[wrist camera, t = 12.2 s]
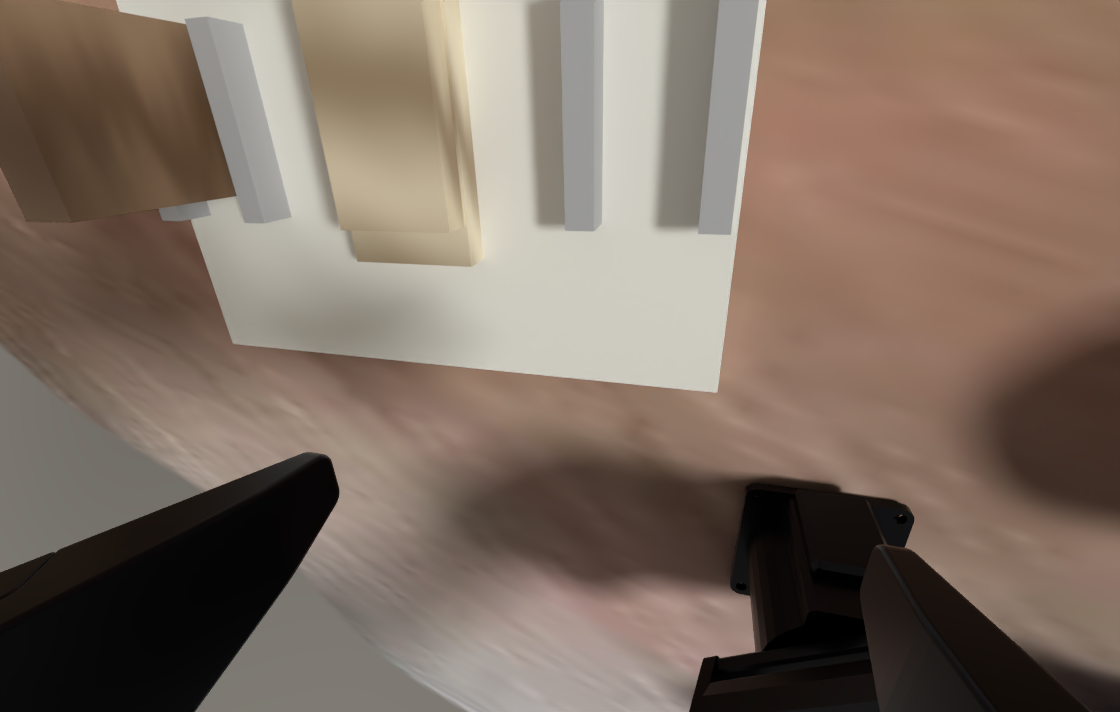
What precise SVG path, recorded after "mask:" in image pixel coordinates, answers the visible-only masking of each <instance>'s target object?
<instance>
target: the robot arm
mask: <svg viewBox="0 0 1120 712" xmlns="http://www.w3.org/2000/svg"><path fill="white" fill-rule="evenodd" d="M754 494H761V496H759V497H755V496H753V495H754ZM338 498H339V486H338V483H337V479H336V475H335V472H334V468H333V465H332V461H331V459H330V458H329V457H328V456H327V455H324V454H319V453H312V452H306V453H302V454H300V455H297V456H295V457H292V458H290V459H287V460H284V461H282V462H279V463H277V464H274V465H272V466H269V467H267V468H264V469H262V470H259V471H257V472H254V473H252V474H249V475H247V476H244V477H241V478H239V479H236V480H234V481H231V482H229V483H226V484H224V485H221V486H219V487H216V488H214V489H211V490H209V491H206V492H203V493H201V494H199V495H196V496H193V497H191V498H189V499H186V500H183V501H181V502H179V503H176V504H173V505H171V506H168V507H166V508H163V509H160V510H158V511H156V512H153V513H150V514H148V515H145V516H143V517H140V518H138V519H135V520H133V521H130V522H128V523H125V524H123V525H120V526H118V527H115V528H112V529H110V530H108V531H105V532H102V533H100V534H97V535H95V536H92V537H90V538H87V539H85V540H82V541H80V542H77V543H74V544H72V545H69V546H67V547H64V548H62V549H60V550H58V551H57V552H56V553H55V552H52V553H49V554H46V555H44V556H41V557H39V558H36V559H34V560H31V561H29V562H26V563H24V564H21V565H18V566H16V567H13V568H11V569H8V570H5V571H3V572H0V712H195V711H196V710H197V708H198V707H199V706H200V704H201V703H202V701H203V700H204V698H205V697H206V696H207V694H208V693H209V692H210V690H211V689H212V687H213V686H214V685H215V683H216V682H217V681H218V679H219V678H220V677H221V675H222V674H223V672H224V671H225V670H226V668H227V667H228V665H229V664H230V663H231V661H232V660H233V658H234V657H235V656H236V654H237V653H238V652H239V650H240V649H241V647H242V646H243V644H244V643H245V642H246V641H247V639H248V638H249V636H250V635H251V634H252V632H253V631H254V630H255V628H256V627H257V625H258V624H259V622H260V621H261V620H262V618H263V617H264V616H265V614H266V613H267V611H268V610H269V609H270V607H271V606H272V605H273V603H274V602H275V600H276V599H277V598H278V596H279V595H280V594H281V592H282V591H283V589H284V588H285V586H286V585H287V584H288V582H289V581H290V579H291V578H292V576H293V575H294V573H295V572H296V570H297V568H298V567H299V565H300V563H301V562H302V560H303V558H304V557H305V555H306V553H307V552H308V550H309V548H310V547H311V545H312V543H313V542H314V540H315V538H316V537H317V535H318V533H319V532H320V530H321V528H322V527H323V525H324V523H325V522H326V520H327V518H328V517H329V515H330V513H331V512H332V510H333V508H334V507H335V505H336V503H337V501H338ZM896 515H902V516H901V517H894V516H896ZM913 523H914V516H913V514H912V512H911V510H910V509H909V507H907V506H906V505H904V504H901V503H894V502H887V501H880V500H873V499H866V498H860V497H853V496H846V495H839V494H832V493H824V492H817V491H810V490H802V489H795V488H788V487H781V486H774V485H767V484H760V483H753V484H750V485H748V486H747V487H746V489H745V493H744V499H743V505H742V511H741V517H740V522H739V528H738V534H737V540H736V546H735V552H734V558H733V564H732V570H731V576H730V585H731V588H732V590H733V591H735V592H736V593H739V594H744V595H749V596H750V598H751V609H752V619H753V630H754V641H755V652H754V653H748V654H742V655H736V656H730V657H724V658H719V657H718V656H713V657H707V658H704V659H703V662H702V665H701V669H700V673H699V677H698V680H697V684H696V688H695V692H694V696H693V699H692V703H691V707H690V711H689V712H1091V711H1090V710H1089V709H1088V708H1087V707H1086V706H1085V705H1084V704H1082V703H1081V702H1080V701H1079V700H1078V699H1077V698H1076V697H1075V696H1074V695H1072V694H1071V693H1070V692H1069V691H1068V690H1067V689H1066V688H1065V687H1064V686H1062V685H1061V684H1060V683H1059V682H1058V681H1057V680H1056V679H1055V678H1054V677H1053V676H1051V675H1050V674H1049V673H1048V672H1047V671H1046V670H1045V669H1044V668H1043V667H1041V666H1040V665H1039V664H1038V663H1037V662H1036V661H1035V660H1034V659H1033V658H1031V657H1030V656H1029V655H1028V654H1027V653H1026V652H1025V651H1024V650H1023V649H1021V648H1020V647H1019V646H1018V645H1017V644H1016V643H1015V642H1014V641H1013V640H1011V639H1010V638H1009V637H1008V636H1007V635H1006V634H1005V633H1004V632H1003V631H1001V630H1000V629H999V628H998V627H997V626H996V625H995V624H994V623H993V622H991V621H990V620H989V619H988V618H987V617H986V616H985V615H984V614H983V613H981V612H980V611H979V610H978V609H977V608H976V607H975V606H974V605H973V604H972V603H970V602H969V601H968V600H967V599H966V598H965V597H964V596H963V595H962V594H960V593H959V592H958V591H957V590H956V589H955V588H954V587H953V586H952V585H950V584H949V583H948V582H947V581H946V580H945V579H944V578H943V577H942V576H940V575H939V574H938V573H937V572H936V571H935V570H934V569H933V568H932V567H930V566H929V565H928V564H927V563H926V562H925V561H924V560H923V559H922V558H920V557H919V556H918V555H917V554H916V553H915V552H913V551H912V550H910V549H907V548H904V547H905V545H906V542H907V539H908V537H909V534H910V531H911V529H912V526H913ZM740 583H743V584H740Z"/></svg>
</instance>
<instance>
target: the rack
mask: <svg viewBox="0 0 1120 712" xmlns="http://www.w3.org/2000/svg"><path fill="white" fill-rule="evenodd" d="M116 2H117V5H118V8H119V11H120V12H123V13H129V14H134V15H140V16H145V17H150V18H156V19H161V20H167V21H172V22H177V23H183V24H186V26H187V29H188V33H189V36H190V40H191V43H192V46H193V50H194V53H195V57H196V60H197V63H198V67H199V70H200V73H201V77H202V80H203V84H204V87H205V90H206V94H207V97H208V101H209V104H210V107H211V111H212V114H213V117H214V121H215V124H216V128H217V131H218V134H219V138H220V141H221V144H222V148H223V151H224V155H225V158H226V161H227V165H228V168H229V172H230V175H231V178H232V182H233V185H234V188H235V192H236V195H237V196H234V197H228V198H222V199H216V200H209V201H203V202H197V203H191V204H185V205H178V206H172V207H166V208H160V209H159V212H160V215H161V218H162V220H163V221H185V220H190V219H191V222H192V225H193V228H194V231H195V234H196V237H197V240H198V243H199V246H200V248H201V251H202V254H203V257H204V260H205V263H206V266H207V269H208V272H209V275H210V278H211V281H212V284H213V287H214V290H215V293H216V295H217V298H218V301H219V304H220V307H221V310H222V313H223V316H224V319H225V322H226V325H227V328H228V331H229V334H230V337H231V340H232V342H233V344H239V345H249V346H259V347H269V348H279V349H288V350H298V351H308V352H318V353H328V354H338V355H348V356H358V357H368V358H378V359H388V360H398V361H407V362H417V363H427V364H437V365H447V366H457V367H467V368H477V369H487V370H497V371H507V372H517V373H526V374H536V375H546V376H556V377H566V378H576V379H586V380H596V381H606V382H616V383H626V384H636V385H645V386H655V387H665V388H675V389H685V390H695V391H705V392H715V393H717V391H718V383H719V375H720V367H721V359H722V351H723V343H724V335H725V327H726V319H727V311H728V303H729V295H730V287H731V279H732V271H733V263H734V255H735V247H736V239H737V231H738V223H739V215H740V207H741V199H742V191H743V183H744V175H745V167H746V159H747V151H748V143H749V135H750V127H751V120H752V112H753V104H754V96H755V88H756V80H757V72H758V64H759V56H760V48H761V40H762V32H763V24H764V16H765V8H766V0H459V5H460V15H461V26H462V36H463V47H464V57H465V68H466V78H467V89H468V99H469V110H470V121H471V131H472V142H473V152H474V163H475V173H476V184H477V194H478V205H479V215H480V226H481V237H482V247H483V258H484V259H483V260H481V261H480V262H478V263H477V264H475V265H473V266H472V267H463V266H441V265H419V264H397V263H376V262H357V257H356V252H355V247H354V242H353V237H352V233H351V230H341V229H340V224H339V220H338V215H337V210H336V206H335V201H334V196H333V192H332V187H331V182H330V178H329V173H328V168H327V164H326V159H325V155H324V150H323V145H322V141H321V136H320V131H319V127H318V122H317V117H316V113H315V108H314V103H313V99H312V94H311V89H310V85H309V80H308V75H307V71H306V66H305V61H304V57H303V52H302V48H301V43H300V38H299V34H298V29H297V24H296V20H295V15H294V10H293V6H292V1H291V0H116Z"/></svg>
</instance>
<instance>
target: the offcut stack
mask: <svg viewBox="0 0 1120 712" xmlns="http://www.w3.org/2000/svg"><path fill="white" fill-rule="evenodd" d="M291 1H292V6H293V10H294V15H295V20H296V24H297V29H298V34H299V38H300V43H301V48H302V52H303V57H304V61H305V66H306V71H307V75H308V80H309V85H310V89H311V94H312V99H313V103H314V108H315V113H316V117H317V122H318V127H319V131H320V136H321V141H322V145H323V150H324V155H325V159H326V164H327V168H328V173H329V178H330V182H331V187H332V192H333V196H334V201H335V206H336V210H337V215H338V220H339V224H340V229H341V230H351V233H352V237H353V242H354V247H355V252H356V257H357V262H376V263H397V264H419V265H441V266H463V267H472V266H473V265H475V264H477V263H478V262H480V261H481V260H483V259H484V258H483V247H482V237H481V226H480V215H479V205H478V194H477V184H476V173H475V163H474V152H473V142H472V131H471V121H470V110H469V99H468V89H467V78H466V68H465V57H464V47H463V36H462V26H461V15H460V5H459V0H291Z"/></svg>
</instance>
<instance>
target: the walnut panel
mask: <svg viewBox="0 0 1120 712" xmlns="http://www.w3.org/2000/svg"><path fill="white" fill-rule="evenodd" d="M0 167H1V169H2V171H3V173H4V175H5V177H6V179H7V181H8V183H9V186H10V188H11V190H12V192H13V194H14V196H15V198H16V200H17V202H18V204H19V206H20V208H21V210H22V213H23V215H24V217H25V219H26V221H29V222H68V223H73V222H79V221H85V220H91V219H98V218H104V217H110V216H116V215H122V214H129V213H135V212H141V211H147V210H154V209H160V208H166V207H172V206H178V205H185V204H191V203H197V202H203V201H209V200H216V199H222V198H228V197H234V196H237V195H236V192H235V188H234V185H233V182H232V178H231V175H230V172H229V168H228V165H227V161H226V158H225V155H224V151H223V148H222V144H221V141H220V138H219V134H218V131H217V128H216V124H215V121H214V117H213V114H212V111H211V107H210V104H209V101H208V97H207V94H206V90H205V87H204V84H203V80H202V77H201V73H200V70H199V67H198V63H197V60H196V57H195V53H194V50H193V46H192V43H191V40H190V36H189V33H188V29H187V26H186V24H183V23H177V22H172V21H167V20H161V19H156V18H150V17H145V16H140V15H134V14H129V13H123V12H118V11H113V10H107V9H102V8H96V7H91V6H86V5H80V4H75V3H69V2H64V1H59V0H0Z"/></svg>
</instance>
